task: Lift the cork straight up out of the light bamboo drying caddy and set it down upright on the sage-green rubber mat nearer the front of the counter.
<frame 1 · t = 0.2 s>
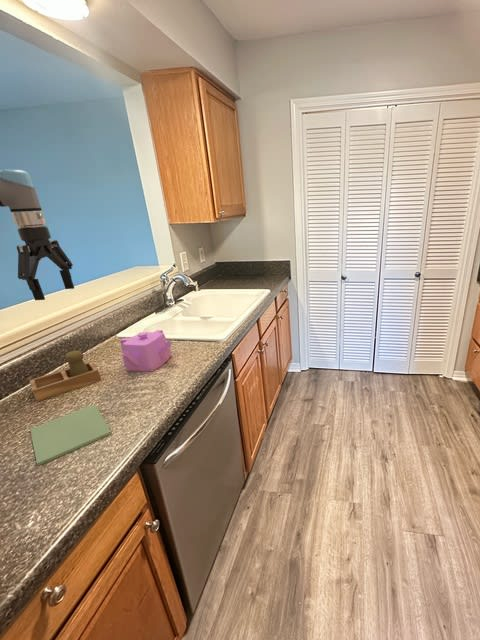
hand: (56, 294, 107), 30 cm above the countertop, tool pointing down, fingers open, 13 cm apart
purple knobbed polyhedron: (150, 364, 124), on the countertop
cork: (82, 380, 114), resting in drying caddy
drying mat: (70, 432, 87), on the countertop
drying caddy: (68, 385, 111), on the countertop
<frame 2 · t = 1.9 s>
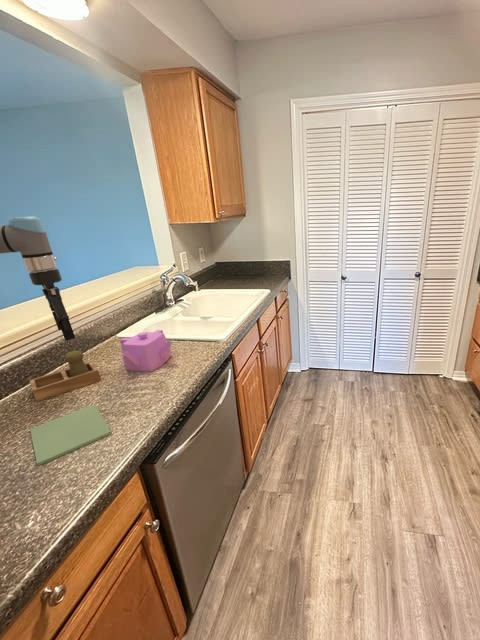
hand: (66, 334, 107), 18 cm above the countertop, tool pointing down, fingers open, 13 cm apart
nothing on the countertop moved.
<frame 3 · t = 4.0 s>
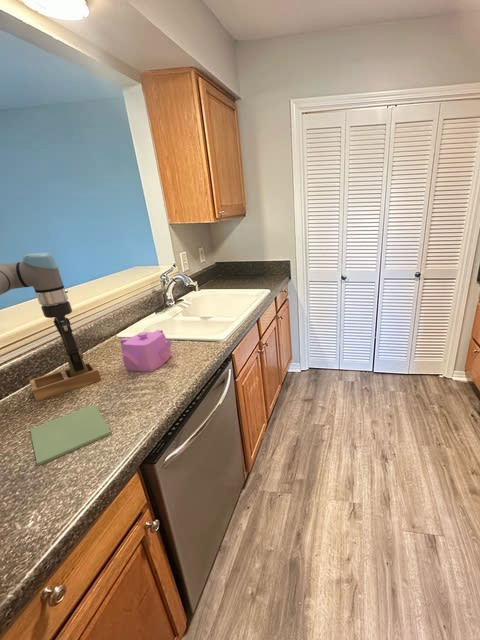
hand: (77, 367, 112), 5 cm above the countertop, tool pointing down, fingers closed on cork, 5 cm apart
cork: (82, 380, 114), resting in drying caddy, touching gripper
everything else where it was.
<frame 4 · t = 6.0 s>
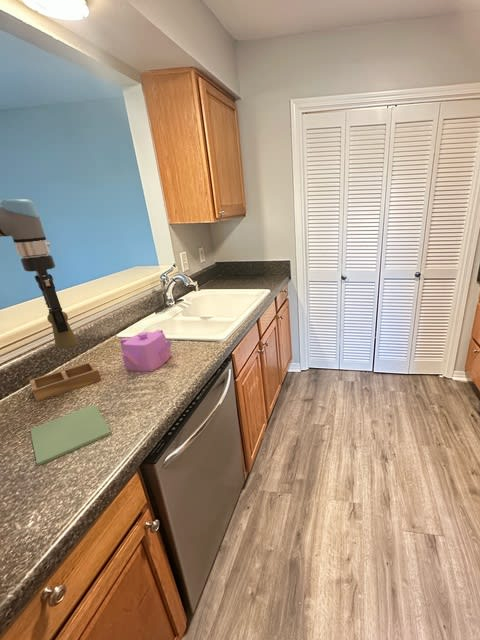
hand: (61, 329, 104), 20 cm above the countertop, tool pointing down, fingers closed on cork, 5 cm apart
cork: (67, 344, 106), point 15 cm above the countertop, touching gripper
everything else where it was.
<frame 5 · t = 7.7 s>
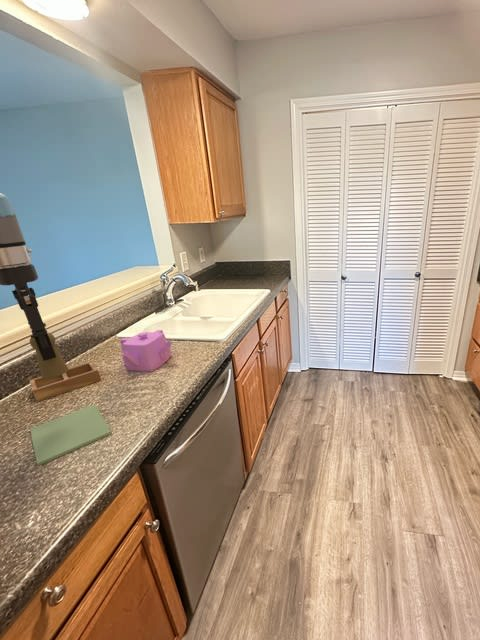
hand: (48, 355, 84), 21 cm above the countertop, tool pointing down, fingers closed on cork, 5 cm apart
cork: (55, 373, 86), point 15 cm above the countertop, touching gripper
everything else where it was.
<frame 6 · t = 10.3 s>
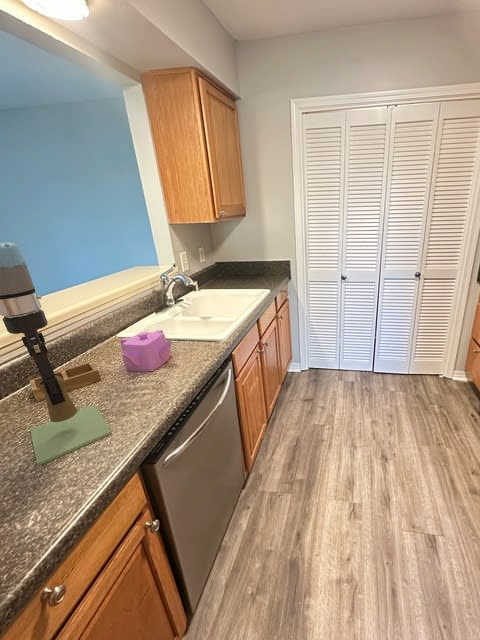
hand: (57, 398, 83), 11 cm above the countertop, tool pointing down, fingers closed on cork, 5 cm apart
cork: (64, 415, 85), point 5 cm above the countertop, touching gripper
everything else where it was.
when the fingers open (6 cm above the countertop, at t = 11.8 s): cork stays where it is, resting on drying mat.
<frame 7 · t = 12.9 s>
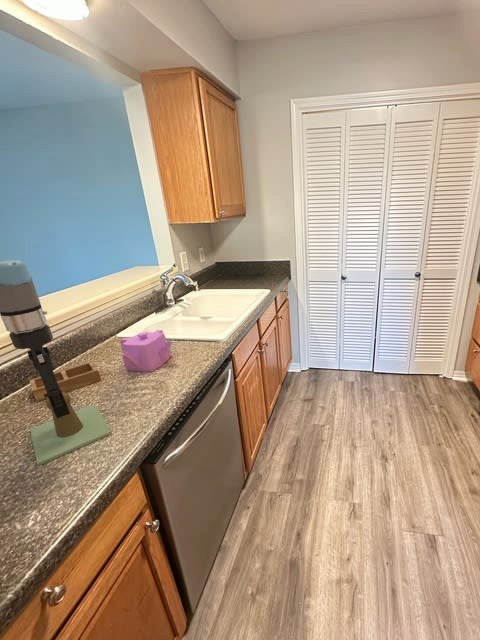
hand: (59, 404, 84), 9 cm above the countertop, tool pointing down, fingers open, 13 cm apart
cork: (70, 430, 87), point 1 cm above the countertop, touching drying mat
everything else where it was.
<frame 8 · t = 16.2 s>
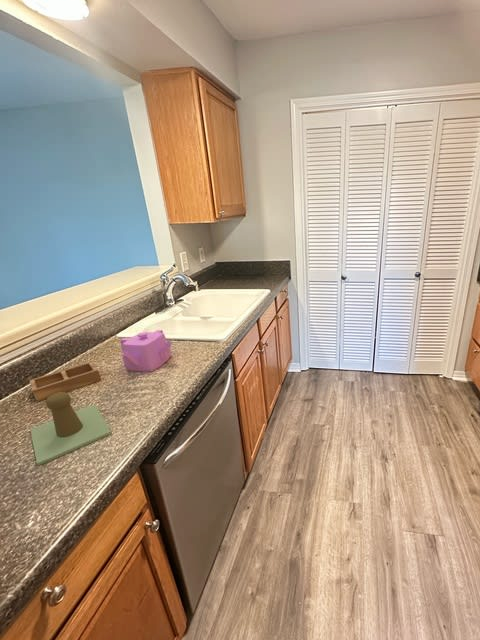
nothing on the countertop moved.
at the end: cork inside the target area on the drying mat (0.1 cm from its centre), point 0.6 cm above the drying mat's base; cork tilted 0°; the gripper is holding nothing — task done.
